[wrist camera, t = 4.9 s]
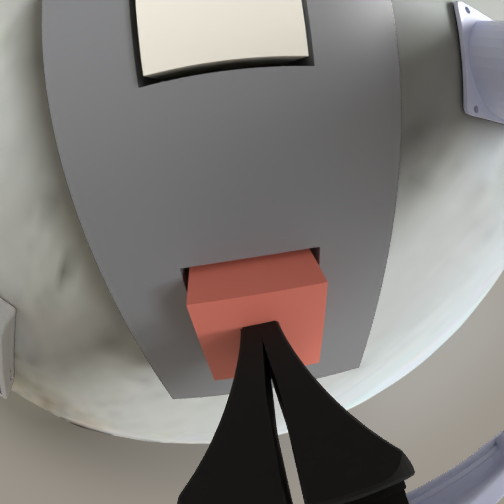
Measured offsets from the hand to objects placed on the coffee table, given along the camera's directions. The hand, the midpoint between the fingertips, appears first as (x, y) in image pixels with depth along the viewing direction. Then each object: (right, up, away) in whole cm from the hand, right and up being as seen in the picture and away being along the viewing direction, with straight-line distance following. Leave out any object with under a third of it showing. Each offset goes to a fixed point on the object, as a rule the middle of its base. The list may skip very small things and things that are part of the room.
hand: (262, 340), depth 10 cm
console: (-1, +8, +2) cm, 8 cm away
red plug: (0, +2, +3) cm, 4 cm away
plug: (-2, +13, -2) cm, 13 cm away
